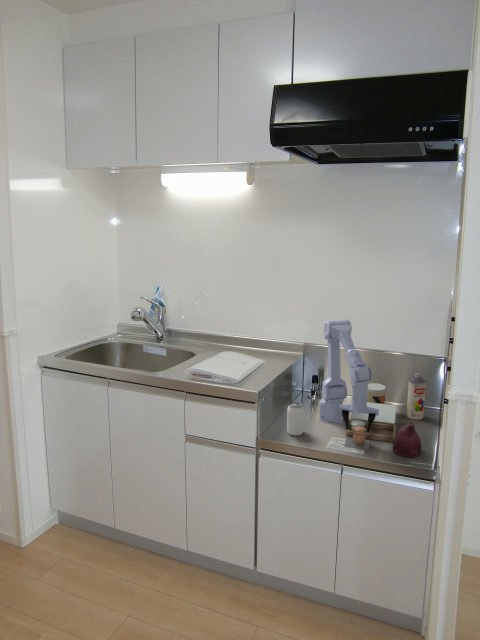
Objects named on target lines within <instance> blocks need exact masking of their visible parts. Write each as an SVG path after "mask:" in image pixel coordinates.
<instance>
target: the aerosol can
mask: <svg viewBox="0 0 480 640" xmlns="http://www.w3.org/2000/svg"><path fill="white" fill-rule="evenodd" d="M426 384H427V383H426V380H425V379H424V378H423V377H422V376H421V373H420V372H415V375H414V376H412V377H411V378H409V380H408V387H407V400H406V401H407V402H406V403H407V404H406V417H407V418H408V419H411V420H415V421H419V420H422V419H423V418H424V411H425V410H424V409H425V397H426Z"/></svg>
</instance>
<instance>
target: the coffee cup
mask: <svg viewBox="0 0 480 640" xmlns="http://www.w3.org/2000/svg"><path fill="white" fill-rule="evenodd" d="M386 393H387V388H386V385H384V384H382V383H378V382H371V383H369V382H368V394H367V402H369V403H378V404H386V403H385V401H386Z"/></svg>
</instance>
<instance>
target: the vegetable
mask: <svg viewBox="0 0 480 640" xmlns="http://www.w3.org/2000/svg"><path fill="white" fill-rule="evenodd" d="M392 443H393V445H392V453H393V454H395V456H399V457H402V458H407V459H414V458H418V457H420V456H421V454H422V443H421V439H420V437H419V435H418V433H417V431H416V428H415V424H414V423H413V422H411V421H409V422H408V423H406V424H405V425H403V426H402V427H401V428H400V429H398V431H397V432H396V434H395V440H394V442H392Z"/></svg>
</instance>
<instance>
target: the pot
mask: <svg viewBox="0 0 480 640" xmlns="http://www.w3.org/2000/svg"><path fill="white" fill-rule="evenodd" d="M352 431H353V437H352V438H353V443H354V444H355V445H364V444H365V433H366V429H365V428H364V427H359V426H357V427H353V428H352Z"/></svg>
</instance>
